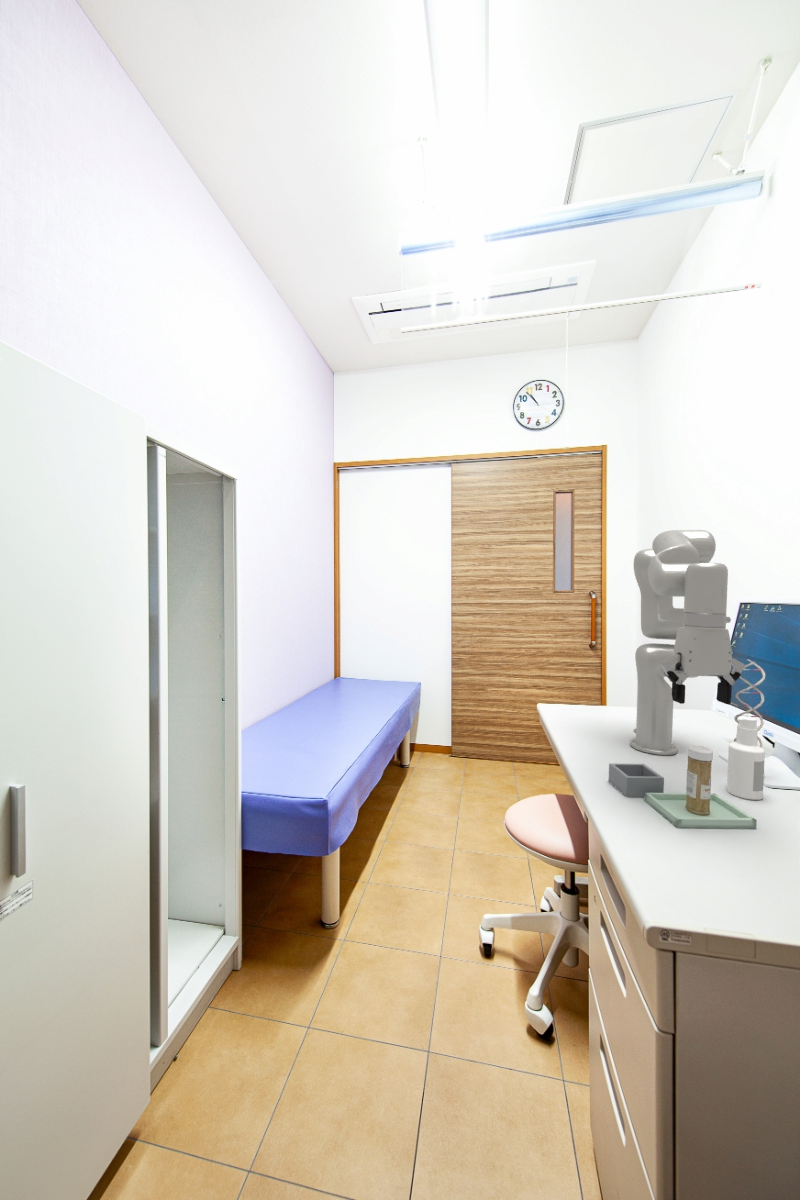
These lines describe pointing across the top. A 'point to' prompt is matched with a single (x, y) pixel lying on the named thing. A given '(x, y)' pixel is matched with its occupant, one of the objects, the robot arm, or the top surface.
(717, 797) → the tray
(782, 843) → the top surface
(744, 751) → the white bottle
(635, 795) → the holder
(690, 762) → the sprinkles bottle
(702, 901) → the top surface
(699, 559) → the robot arm
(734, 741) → the dna model
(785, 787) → the top surface
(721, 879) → the top surface
